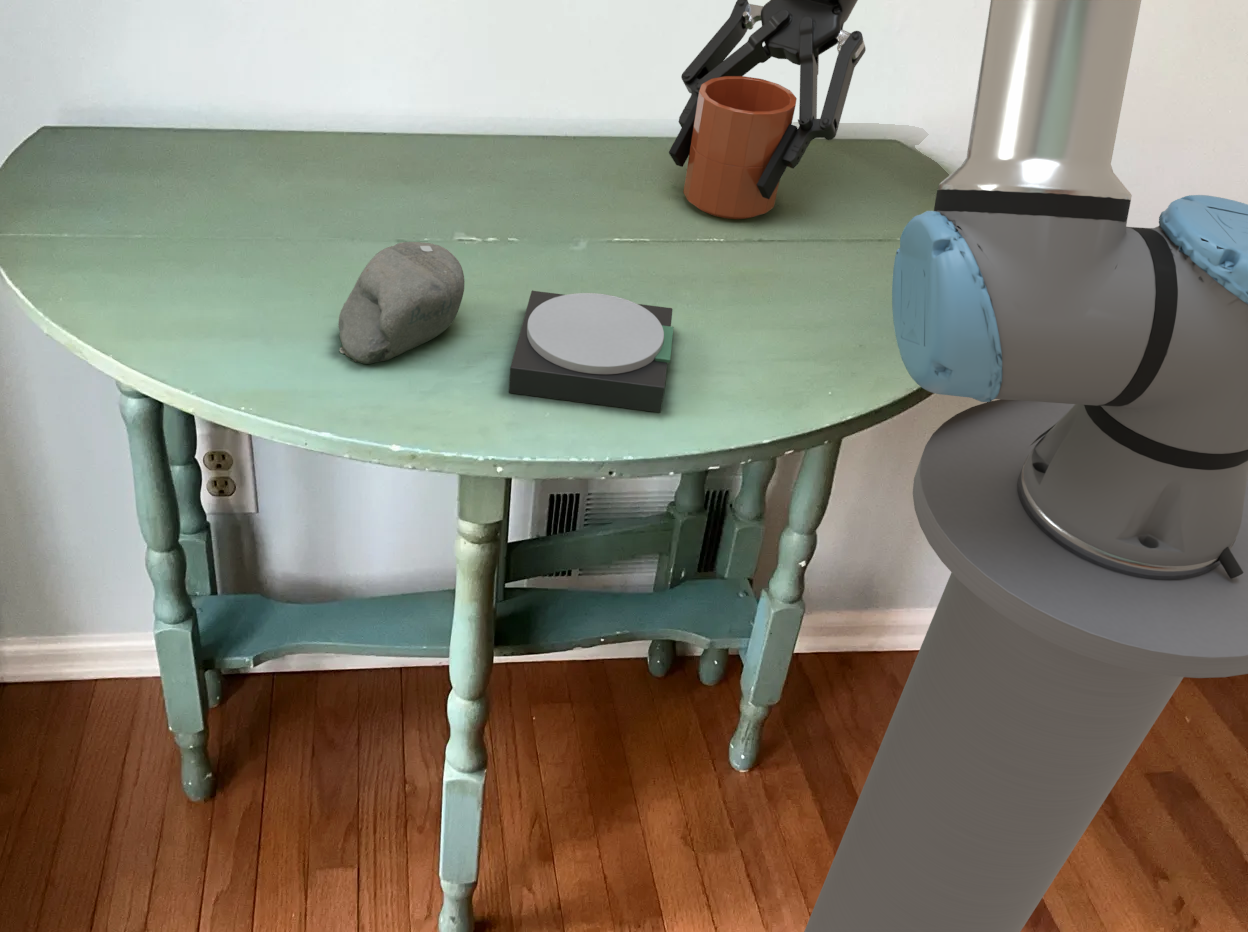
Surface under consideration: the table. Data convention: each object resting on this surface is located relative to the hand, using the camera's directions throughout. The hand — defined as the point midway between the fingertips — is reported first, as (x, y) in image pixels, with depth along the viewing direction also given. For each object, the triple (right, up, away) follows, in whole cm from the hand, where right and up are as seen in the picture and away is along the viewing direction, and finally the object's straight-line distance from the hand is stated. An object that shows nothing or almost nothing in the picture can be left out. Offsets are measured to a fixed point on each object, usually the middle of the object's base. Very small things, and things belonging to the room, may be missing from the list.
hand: (718, 175), depth 116 cm
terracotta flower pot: (+2, -1, +5) cm, 5 cm away
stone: (-29, -18, -17) cm, 39 cm away
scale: (-13, -21, -19) cm, 31 cm away
